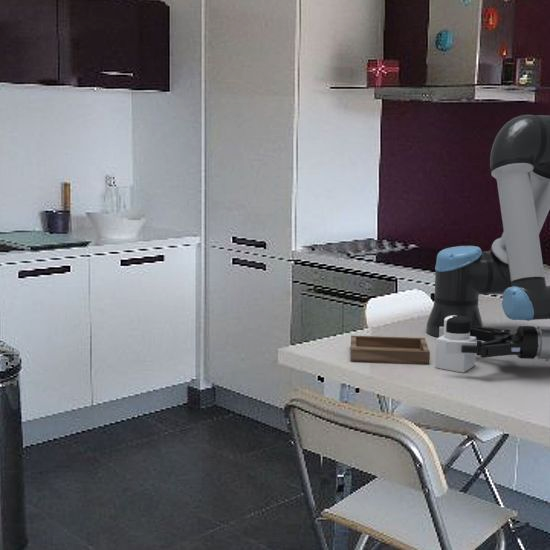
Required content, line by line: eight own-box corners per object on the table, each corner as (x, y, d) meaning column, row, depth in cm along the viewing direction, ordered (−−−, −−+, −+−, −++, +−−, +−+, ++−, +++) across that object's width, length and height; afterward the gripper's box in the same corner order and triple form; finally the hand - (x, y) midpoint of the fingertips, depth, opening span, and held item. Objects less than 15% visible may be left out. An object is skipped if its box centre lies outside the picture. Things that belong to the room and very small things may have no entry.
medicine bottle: (475, 366, 199) (478, 316, 196) (463, 373, 193) (466, 322, 191) (446, 361, 202) (449, 312, 200) (434, 367, 197) (436, 317, 195)
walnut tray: (350, 347, 214) (351, 335, 213) (424, 349, 212) (424, 337, 212) (351, 361, 201) (351, 349, 200) (429, 364, 199) (429, 352, 199)
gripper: (547, 374, 183) (448, 370, 185) (523, 344, 208) (436, 341, 210) (549, 340, 182) (449, 337, 184) (525, 314, 207) (437, 312, 208)
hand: (442, 339), depth 197 cm, fingers open, 13 cm apart
